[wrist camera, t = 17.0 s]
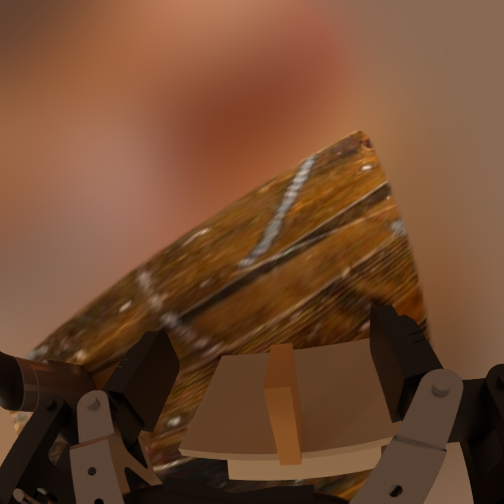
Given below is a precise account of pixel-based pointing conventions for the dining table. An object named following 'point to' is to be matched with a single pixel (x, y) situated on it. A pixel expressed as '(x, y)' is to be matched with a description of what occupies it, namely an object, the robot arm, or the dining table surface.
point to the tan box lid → (291, 406)
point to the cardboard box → (305, 466)
